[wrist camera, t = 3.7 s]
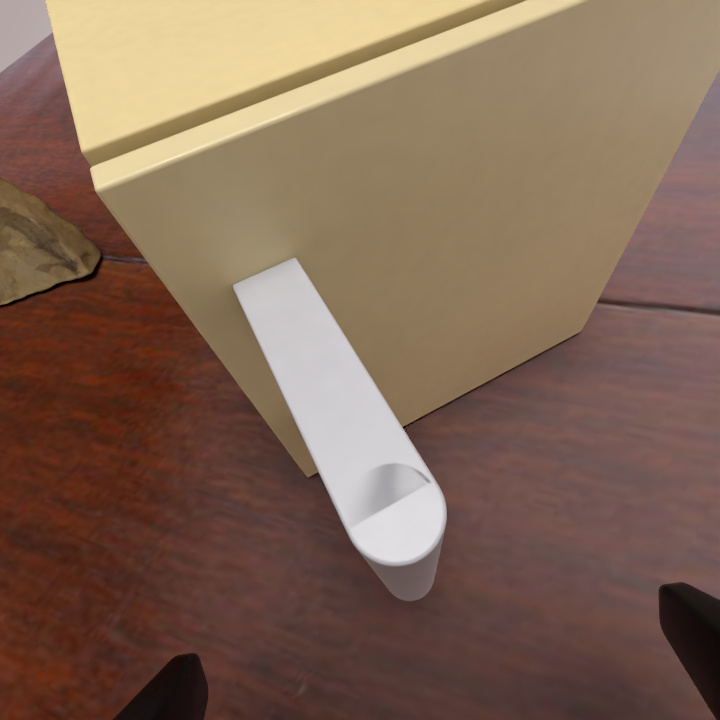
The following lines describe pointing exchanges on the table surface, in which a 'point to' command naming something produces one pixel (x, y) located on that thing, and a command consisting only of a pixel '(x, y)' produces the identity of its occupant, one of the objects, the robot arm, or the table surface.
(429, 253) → the fridge door
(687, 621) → the robot arm
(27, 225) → the rock
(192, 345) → the table surface
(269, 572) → the table surface
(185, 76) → the fridge
